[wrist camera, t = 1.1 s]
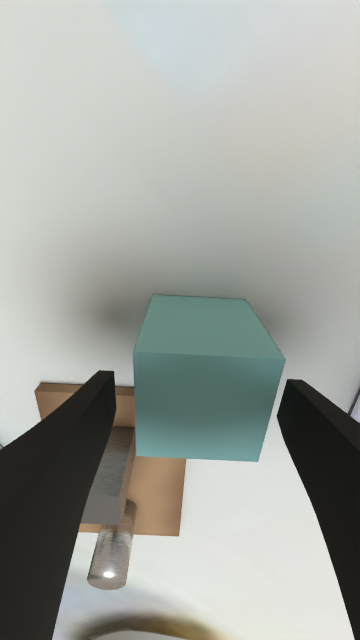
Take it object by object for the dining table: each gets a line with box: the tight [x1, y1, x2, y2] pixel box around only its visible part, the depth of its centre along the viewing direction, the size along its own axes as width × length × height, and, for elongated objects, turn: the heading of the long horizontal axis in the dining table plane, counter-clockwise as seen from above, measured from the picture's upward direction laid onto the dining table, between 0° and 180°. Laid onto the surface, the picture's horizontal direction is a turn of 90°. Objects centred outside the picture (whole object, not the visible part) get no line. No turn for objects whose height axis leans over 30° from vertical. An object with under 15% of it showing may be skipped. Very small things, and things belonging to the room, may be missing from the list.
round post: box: [87, 499, 137, 590], centre depth 19 cm, size 3×3×4 cm
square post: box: [81, 426, 135, 525], centre depth 16 cm, size 3×3×4 cm
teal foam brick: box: [133, 295, 286, 462], centre depth 12 cm, size 5×5×6 cm
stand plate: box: [34, 383, 186, 536], centre depth 20 cm, size 10×16×1 cm, turn 177°
